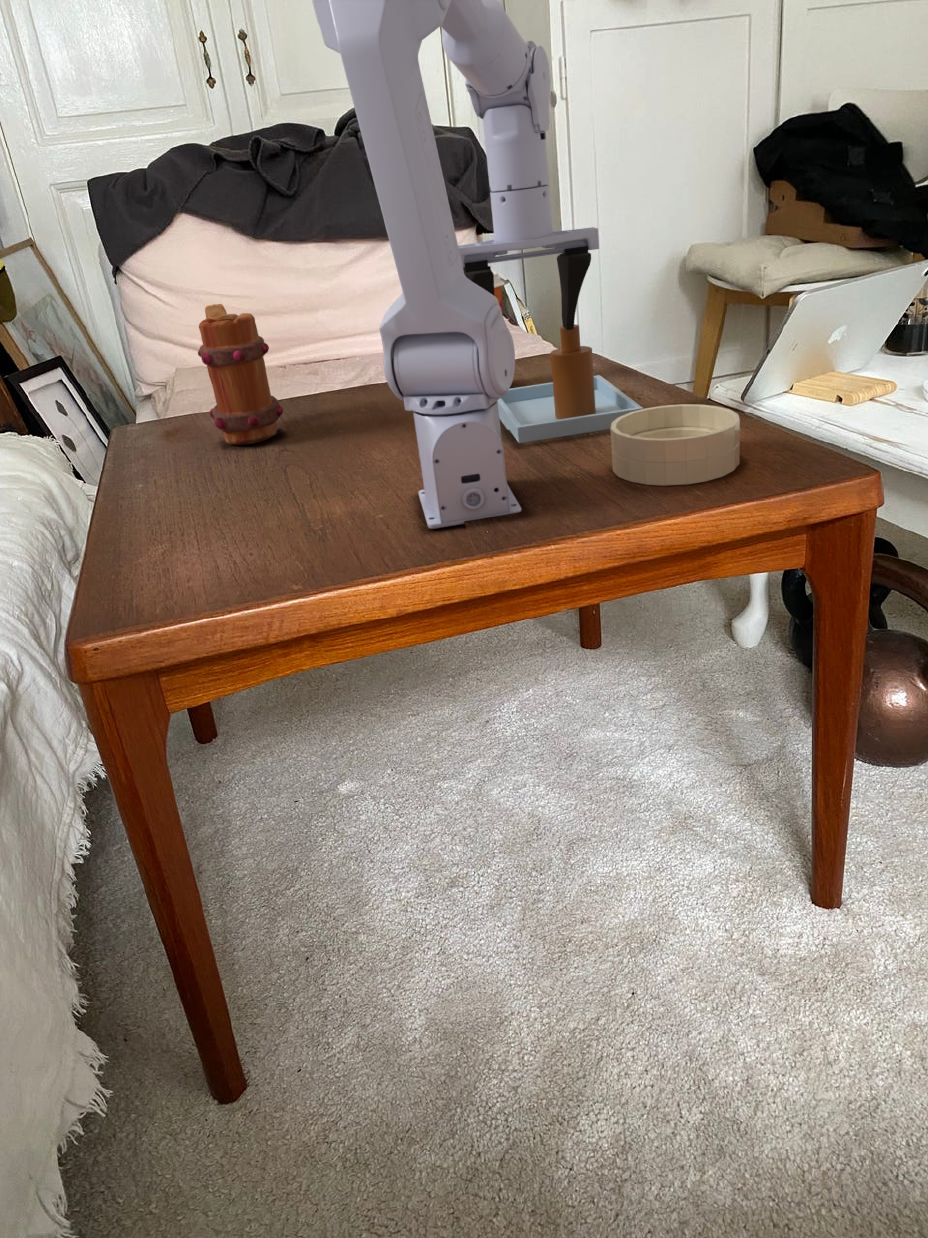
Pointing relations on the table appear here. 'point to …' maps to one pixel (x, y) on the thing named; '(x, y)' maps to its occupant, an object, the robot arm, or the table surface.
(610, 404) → the tray
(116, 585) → the table surface
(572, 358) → the bottle
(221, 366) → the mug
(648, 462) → the bowl
